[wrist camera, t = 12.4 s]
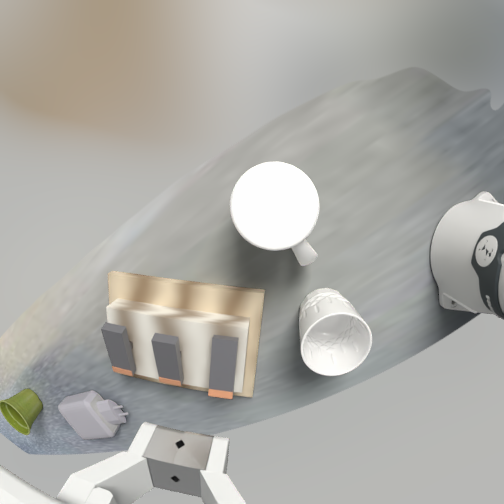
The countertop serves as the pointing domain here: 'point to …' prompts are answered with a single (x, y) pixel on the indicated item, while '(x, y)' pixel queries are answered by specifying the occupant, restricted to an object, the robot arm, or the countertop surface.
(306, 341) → the white cup
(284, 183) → the mug
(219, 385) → the rocker
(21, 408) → the plant pot
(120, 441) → the countertop surface
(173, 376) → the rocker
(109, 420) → the charger
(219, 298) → the switch panel
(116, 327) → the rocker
